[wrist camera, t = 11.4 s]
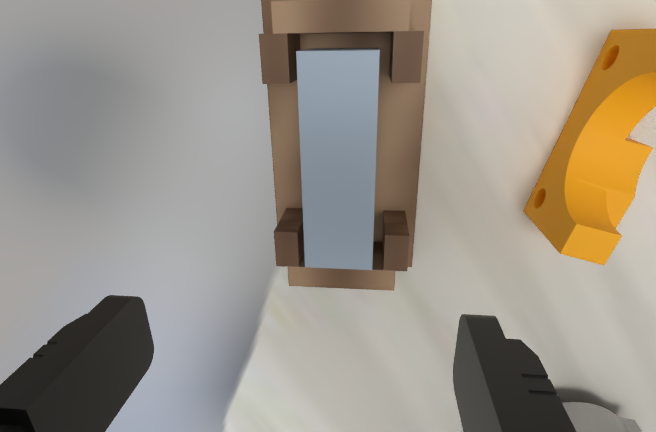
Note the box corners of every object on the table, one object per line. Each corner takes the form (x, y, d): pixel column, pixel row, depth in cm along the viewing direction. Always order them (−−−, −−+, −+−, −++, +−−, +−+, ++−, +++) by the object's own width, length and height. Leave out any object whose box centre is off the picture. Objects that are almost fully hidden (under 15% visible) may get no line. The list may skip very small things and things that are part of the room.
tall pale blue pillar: (378, 47, 25) (379, 50, 19) (372, 237, 30) (371, 281, 24) (313, 48, 25) (296, 51, 20) (317, 235, 30) (305, 278, 25)
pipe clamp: (581, 225, 29) (633, 273, 23) (522, 209, 29) (560, 253, 23) (680, 49, 24) (778, 52, 18) (609, 30, 24) (685, 27, 18)
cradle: (430, -6, 24) (442, -16, 20) (410, 260, 31) (416, 297, 27) (265, -1, 25) (241, -10, 21) (282, 255, 32) (267, 290, 28)
